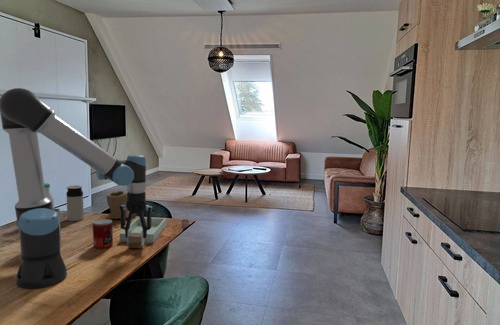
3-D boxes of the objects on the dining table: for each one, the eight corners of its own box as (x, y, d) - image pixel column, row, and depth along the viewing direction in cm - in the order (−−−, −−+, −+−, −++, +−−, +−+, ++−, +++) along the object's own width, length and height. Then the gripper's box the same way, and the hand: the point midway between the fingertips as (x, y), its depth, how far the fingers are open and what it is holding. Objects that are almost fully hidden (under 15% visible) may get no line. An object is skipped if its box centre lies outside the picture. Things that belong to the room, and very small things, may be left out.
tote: (153, 243, 165) (153, 234, 165) (119, 242, 165) (119, 233, 165) (166, 225, 191) (166, 218, 191) (137, 225, 191) (137, 217, 190)
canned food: (106, 250, 156) (105, 224, 154) (89, 248, 157) (88, 223, 156) (116, 243, 163) (115, 219, 162) (100, 242, 165) (99, 218, 163)
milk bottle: (57, 221, 195) (56, 183, 192) (43, 224, 188) (41, 185, 186) (49, 218, 199) (47, 182, 197) (34, 222, 193) (32, 184, 190)
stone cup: (103, 221, 196) (103, 193, 194) (109, 215, 208) (108, 189, 206) (133, 221, 198) (132, 193, 196) (137, 215, 210) (136, 189, 208)
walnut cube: (140, 248, 156) (140, 236, 156) (128, 247, 156) (128, 236, 156) (143, 244, 161) (143, 232, 161) (132, 243, 161) (132, 232, 161)
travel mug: (83, 220, 197) (82, 187, 194) (66, 222, 194) (65, 188, 191) (84, 216, 204) (83, 184, 202) (68, 218, 201) (66, 185, 199)
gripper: (159, 190, 160) (159, 242, 163) (118, 189, 160) (118, 241, 163) (155, 194, 153) (154, 248, 155) (111, 192, 152) (111, 247, 155)
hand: (136, 244), depth 159 cm, fingers closed on walnut cube, 5 cm apart
